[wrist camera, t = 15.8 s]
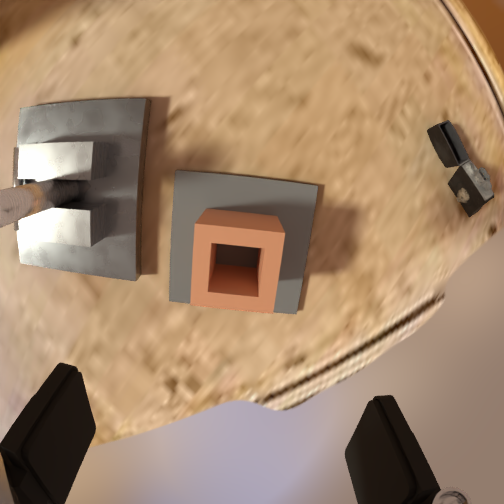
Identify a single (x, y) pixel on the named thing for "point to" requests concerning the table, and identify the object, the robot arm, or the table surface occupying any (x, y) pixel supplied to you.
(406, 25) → the table surface
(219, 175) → the mat
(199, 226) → the collar
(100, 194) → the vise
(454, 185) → the lighter
